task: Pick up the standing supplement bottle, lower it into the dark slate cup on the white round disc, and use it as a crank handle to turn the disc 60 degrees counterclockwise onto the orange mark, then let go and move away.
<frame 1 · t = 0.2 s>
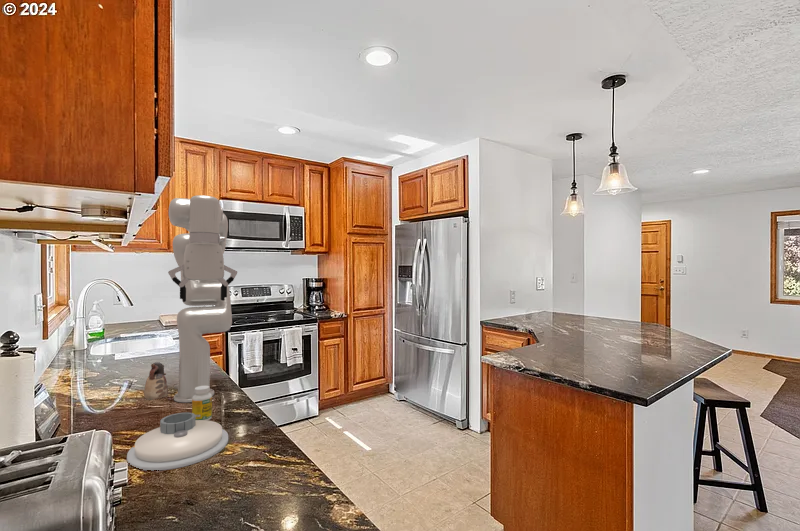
hand: (203, 300, 107), 36 cm above the countertop, tool pointing down, fingers open, 9 cm apart
figurine: (156, 396, 135), on the countertop
supplement bottle: (202, 420, 114), on the countertop
white round disc: (180, 433, 96), point 3 cm above the countertop, hinge at 0.0°
dial base: (180, 447, 96), on the countertop
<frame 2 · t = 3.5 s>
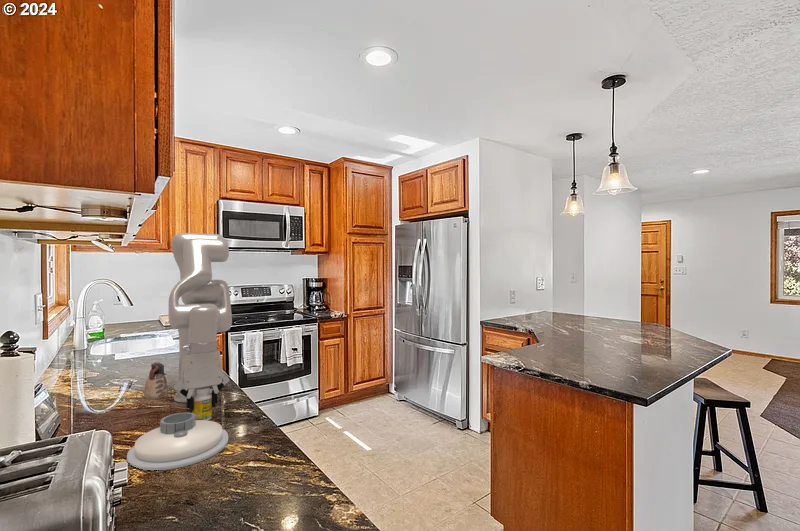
hand: (202, 407, 114), 3 cm above the countertop, tool pointing down, fingers closed on supplement bottle, 5 cm apart
supplement bottle: (202, 420, 114), on the countertop, touching gripper
everything else where it was.
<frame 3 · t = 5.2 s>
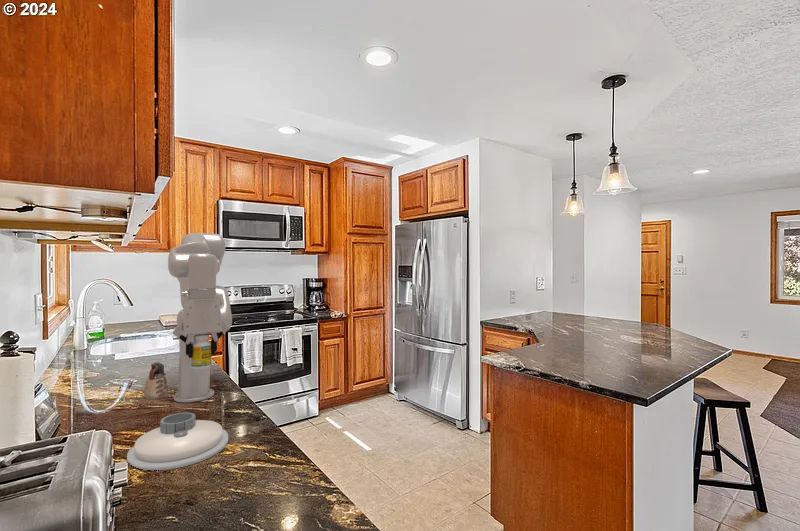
hand: (201, 355, 114), 19 cm above the countertop, tool pointing down, fingers closed on supplement bottle, 5 cm apart
supplement bottle: (201, 367, 113), point 16 cm above the countertop, touching gripper
everything else where it was.
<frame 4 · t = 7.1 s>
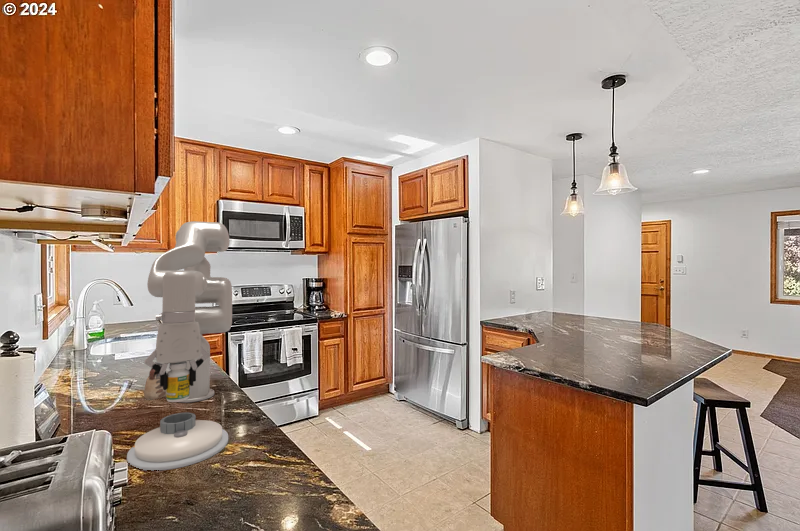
hand: (178, 385, 101), 14 cm above the countertop, tool pointing down, fingers closed on supplement bottle, 5 cm apart
supplement bottle: (178, 399, 100), point 11 cm above the countertop, touching gripper
everything else where it was.
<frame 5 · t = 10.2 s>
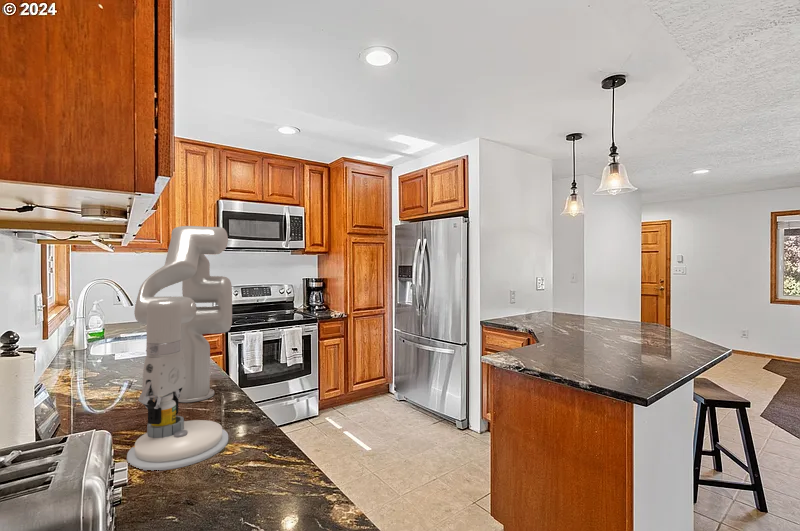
hand: (163, 417, 98), 7 cm above the countertop, tool pointing down, fingers closed on supplement bottle, 5 cm apart
supplement bottle: (163, 432, 98), point 3 cm above the countertop, touching white round disc, gripper
white round disc: (180, 433, 96), point 3 cm above the countertop, hinge at 30.7°, touching supplement bottle
everything else where it was.
when the fingers open (7 cm above the countertop, at t = 11.2 s): supplement bottle stays where it is, resting on white round disc.
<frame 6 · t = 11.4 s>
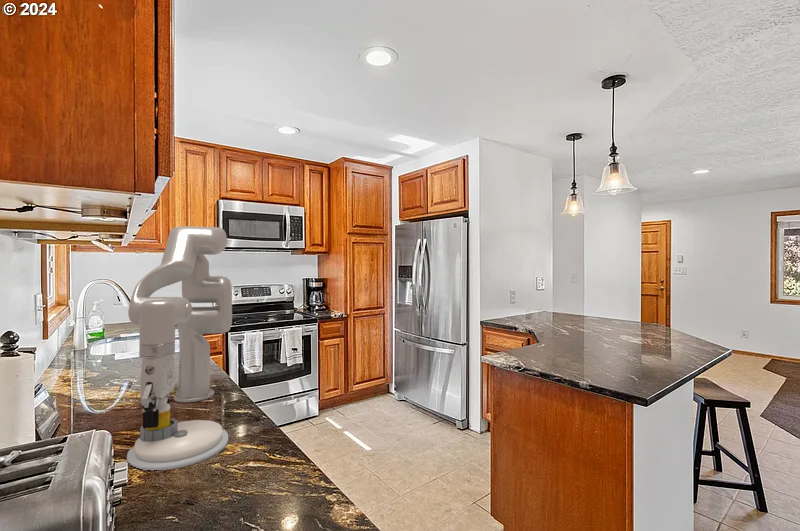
hand: (156, 420, 95), 7 cm above the countertop, tool pointing down, fingers open, 7 cm apart
supplement bottle: (157, 436, 96), point 3 cm above the countertop, touching white round disc, gripper
white round disc: (180, 433, 96), point 3 cm above the countertop, hinge at 52.4°, touching supplement bottle
everything else where it was.
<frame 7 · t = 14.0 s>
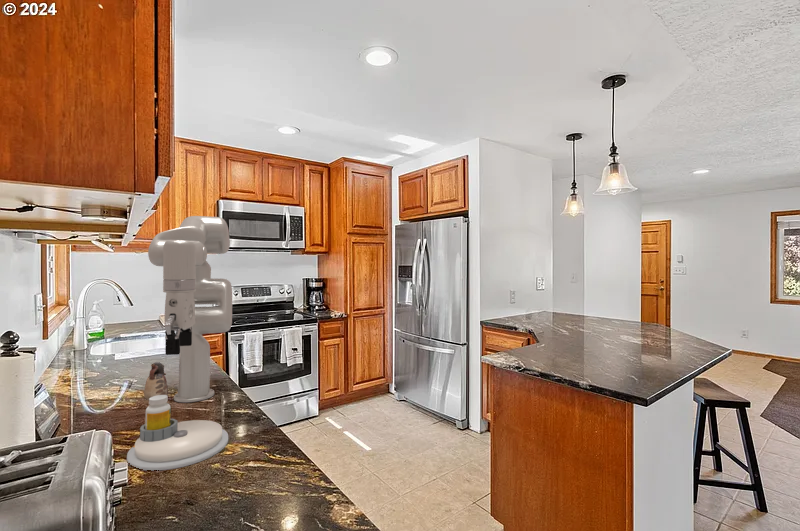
hand: (179, 349, 102), 23 cm above the countertop, tool pointing down, fingers open, 9 cm apart
supplement bottle: (157, 436, 96), point 3 cm above the countertop, touching white round disc
everything else where it was.
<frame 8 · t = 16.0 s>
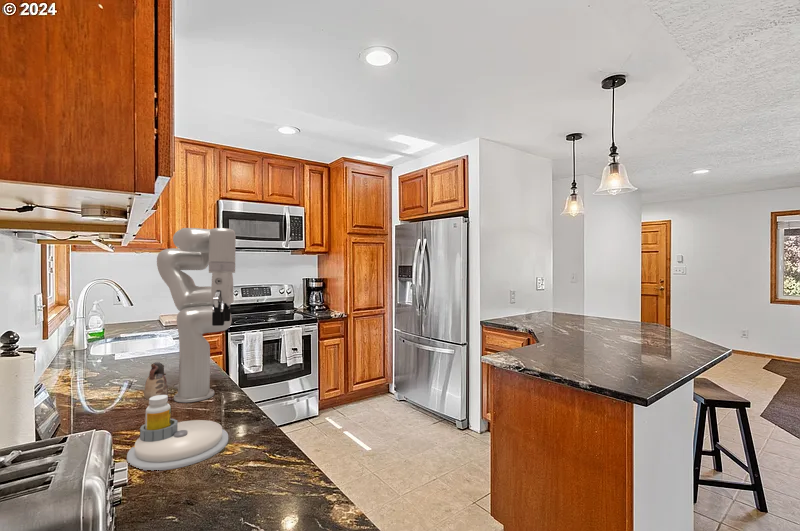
hand: (221, 323, 118), 28 cm above the countertop, tool pointing down, fingers open, 9 cm apart
nothing on the countertop moved.
at the end: white round disc at +52° (first picture: +0°); supplement bottle 0.4 cm from the target spot on the white round disc, point 3.0 cm above the white round disc's base; supplement bottle tilted 0° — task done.
